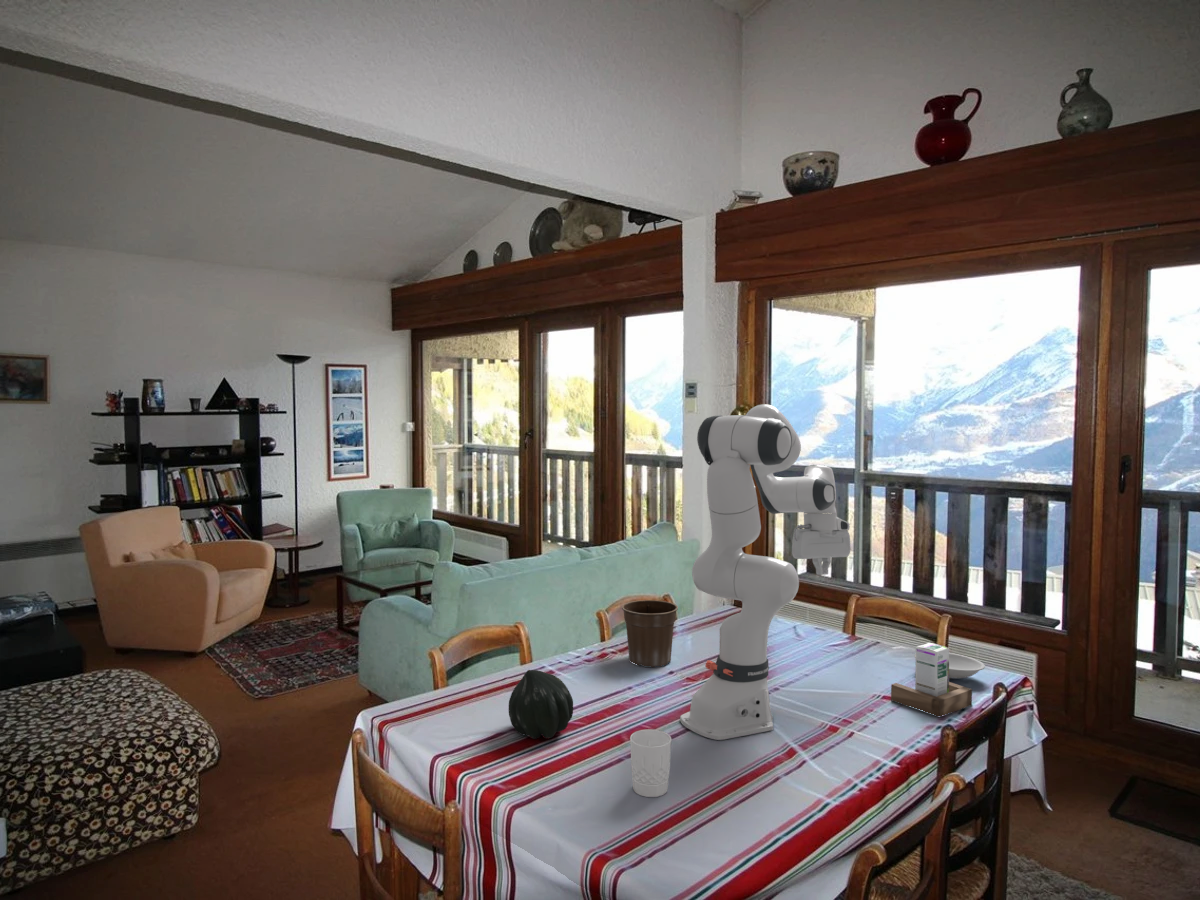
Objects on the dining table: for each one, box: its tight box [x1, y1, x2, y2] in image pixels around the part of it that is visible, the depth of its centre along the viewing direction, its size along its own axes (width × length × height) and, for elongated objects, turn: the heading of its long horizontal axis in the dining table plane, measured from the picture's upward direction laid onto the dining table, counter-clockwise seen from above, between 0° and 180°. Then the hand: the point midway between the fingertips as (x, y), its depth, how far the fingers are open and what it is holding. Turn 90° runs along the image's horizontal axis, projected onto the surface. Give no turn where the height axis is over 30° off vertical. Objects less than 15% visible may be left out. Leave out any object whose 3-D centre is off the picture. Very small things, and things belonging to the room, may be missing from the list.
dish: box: [914, 652, 986, 680], centre depth 204 cm, size 18×14×5 cm
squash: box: [508, 669, 574, 740], centre depth 169 cm, size 14×15×15 cm
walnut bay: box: [890, 681, 973, 717], centre depth 187 cm, size 14×13×4 cm
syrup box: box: [914, 642, 950, 697], centre depth 186 cm, size 6×6×14 cm
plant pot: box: [621, 599, 679, 668], centre depth 217 cm, size 16×16×16 cm
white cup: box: [629, 728, 672, 798], centre depth 143 cm, size 8×8×10 cm
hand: (822, 574), depth 205 cm, fingers closed
